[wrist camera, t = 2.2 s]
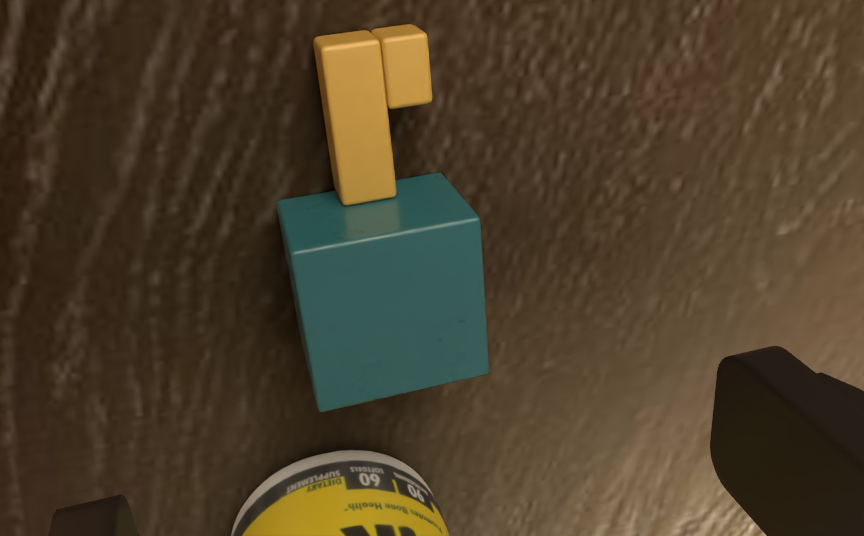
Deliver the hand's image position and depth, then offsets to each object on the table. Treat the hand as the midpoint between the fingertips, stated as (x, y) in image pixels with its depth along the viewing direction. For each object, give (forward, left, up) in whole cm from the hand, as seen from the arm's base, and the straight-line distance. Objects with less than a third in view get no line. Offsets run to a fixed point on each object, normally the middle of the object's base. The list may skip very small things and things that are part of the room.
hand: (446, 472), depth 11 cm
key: (-2, 0, -6) cm, 6 cm away
